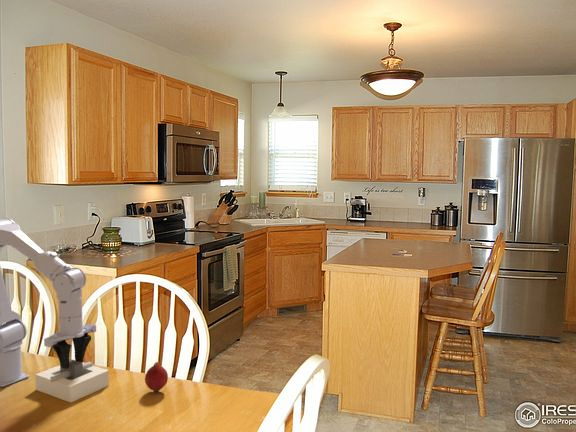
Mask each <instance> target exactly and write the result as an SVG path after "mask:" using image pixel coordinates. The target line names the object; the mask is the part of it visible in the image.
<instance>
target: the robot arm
mask: <svg viewBox="0 0 576 432" xmlns="http://www.w3.org/2000/svg"><path fill="white" fill-rule="evenodd" d="M5 246H10V247H12V248H14V249H15V250H17V251H18V252H20V254H23V256H25V257H26V258H28V259H29V260H30V261H32V262H33V266H34V269H35V270H36V271H38V272H39V273H40V274H41V275H42V276H43V277H45V278H46V279H48V280H49V281H50V282H51V284H52V288H53V289H54V291H55V293H56V299H57V301H58V302H57V303H58V328H59V329H58V331H57V332H56V333H54V334H52V335H50V336H48V337H46V338H44V339H43V342H44V343H43V344H44V345H43V347H47V348H51V347H52V349H53V350H54V352H55V354H56V355H57V358H58V361H59V365H60V364H61V368H64V369H68V368H69V359H70V352H71V348H72V344H73V349H74V350H73V351H74V360H75V361H78V362H82V363H84V359H85V355H86V351H87V349H88V346H89V345H90V342H91V341H92V335H89V334H90V333H96V332H97V325H96V324H95V323H89V324H85V325H84V324H83V292H82V291H83V288H84V286H86V283H87V277H86V274H85V273H84V271H83V270H82V269H81V268H80V267H72V266H71V265H70V264H68V263H66V262H64V260H63V259H61V258H60V257H59V256H58V254H57V253H56V252H55V251H44V250H43V249H42V248H40V247H39V246H38V245H37V244H36V243H35V242H34V241H33V240H31V238H30V237H28V236H27V235H26V234H25V233H24V232H23V231H22V230H21V227H20V225H19V224H18V223H17V222H15V221H14V220H13V219H12V218H9V217H6V218H1V219H0V252H1V251H2V250H3V248H4V247H5ZM5 283H6V282H5V280H4V276H3V272H2V268H1V266H0V387H2V388H3V387H6V386H8V385H11V384H14V383H17V382H19V381H22V380H25V379H28V378H29V377H30V375H29V374H27V373H24V372H23V367H22V366H23V364H22V347H21V346H22V345H23V340H25V338H26V337H27V333H28V331H27V329H28V328H27V326H26V324H25V323H24V321H23V320H22V319H21V315H20V313H18V312H15V311H13V310H12V306H11V302H10V299H9V295H8V291H7V287H6V284H5ZM69 340H72V344H70V343H68V342H67V341H69Z"/></svg>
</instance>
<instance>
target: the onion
mask: <svg viewBox="0 0 576 432" xmlns="http://www.w3.org/2000/svg"><path fill="white" fill-rule="evenodd" d="M168 378H169V374H168V371H167V370H166V368H165V367H163V366H161V365H160V362H159V361H155V362H154V363H153V365H152V366H150V368H148V370H147V371H146V372H145V376H144V382H145V384H146V386H147V388H149V390H151V391H153V392H156V393H158V392H160V391H161V390H162V389H163V388H164V387H165V386H166V385H167V383H168Z"/></svg>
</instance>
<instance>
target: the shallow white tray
mask: <svg viewBox="0 0 576 432" xmlns="http://www.w3.org/2000/svg"><path fill="white" fill-rule="evenodd" d="M109 373H110V372H109V369H105V368H102V367H99V366H95V365H94V362H92V361H86V362H83V376H81V377H78V378H76V379H73V380H72V379H70V380H68V379H65V378H67V377H69V376H72V372H70V371H67V370H66V371H64V372H61V373H60V364H59V365H57V366H55V367H51V368H49V369H46V370H44V371H40V372H38V373H36V374H35V375H34V376H35V377H34V378H35V380H34V381H35V391H38V392H41V393H44V394H46V395H48V396H52V397H55V398H56V399H60V400H63V401H66V402H68V403H73V402H74V403H75V402H76V401H77V400H80V399H82V398H85V397H87V396H88V395H91V394H93V393H95V392H96V393H97V392H98V391H100V390H102V389H104V388H107V387H108V386H110V377H109V375H110V374H109Z"/></svg>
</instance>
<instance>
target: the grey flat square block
mask: <svg viewBox="0 0 576 432" xmlns="http://www.w3.org/2000/svg"><path fill="white" fill-rule="evenodd" d="M83 363H84V362H83ZM83 363H82V362H78V361H75V359H71V358H69V368H68V369H64V368H61V364H60V363H59V365H60V373H61V372H64V371H66V370H67V371H70V372H72V376H69V377H67V378H65V379H68V380H70V379H72V380H73V379H76V378H78V377H81V376H83Z"/></svg>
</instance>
